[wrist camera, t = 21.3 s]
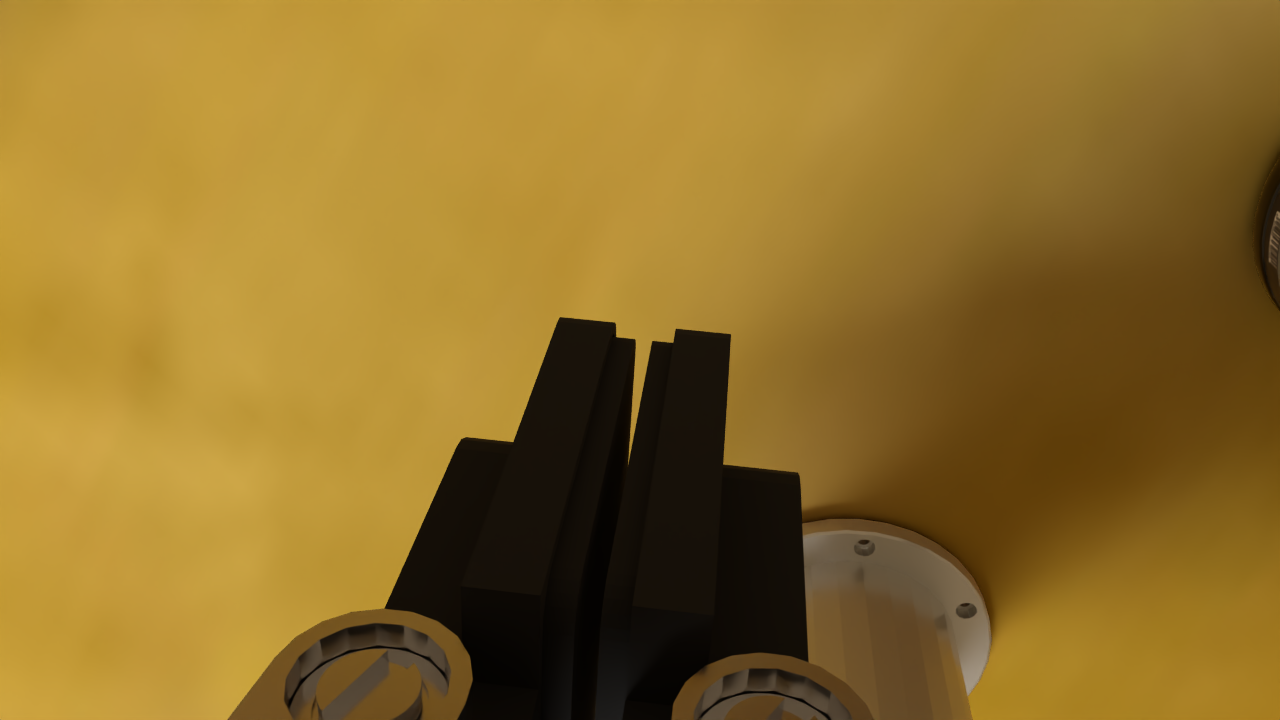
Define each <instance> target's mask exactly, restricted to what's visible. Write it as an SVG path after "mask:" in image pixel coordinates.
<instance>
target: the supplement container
mask: <svg viewBox="0 0 1280 720" xmlns="http://www.w3.org/2000/svg"><path fill="white" fill-rule="evenodd" d="M1253 251H1254V259H1255V264H1256V268H1257V272H1258V275H1259V277H1260V280H1261V282H1262V285H1263V287H1264V289H1265V291H1266V293H1267V294H1268V296H1269V298H1270V299H1271V301H1272V302H1273V304H1274V305H1275V306H1276V307H1277V309H1278V310H1279V311H1280V157H1279V159H1278V160H1277V162H1276V164H1275V165H1274V167H1273V169H1272V170H1271V172H1270V174H1269V176H1268V178H1267V181H1266V183H1265V185H1264V187H1263V190H1262V193H1261V195H1260V198H1259V201H1258V205H1257V209H1256V213H1255V218H1254V226H1253Z"/></svg>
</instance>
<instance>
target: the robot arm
mask: <svg viewBox="0 0 1280 720" xmlns="http://www.w3.org/2000/svg"><path fill="white" fill-rule="evenodd" d="M730 342H731V334H723V333H713V332H703V331H693V330H683V329H676V331H675V337H674V343H667V342H657V341H652V346H651V351H650V356H649V361H648V366H647V371H646V377H645V382H644V387H643V392H642V397H641V402H640V408H639V413H638V418H637V423H636V428H635V433H634V439H633V444H632V449H631V454H630V459H629V464H628V457H629V442H630V427H631V412H632V396H633V381H634V366H635V349H636V341H635V339H628V338H618V337H616V324H615V323H613V322H603V321H593V320H583V319H573V318H563V317H560V318H559V320H558V322H557V325H556V327H555V330H554V333H553V336H552V338H551V341H550V344H549V346H548V349H547V352H546V355H545V357H544V360H543V363H542V366H541V368H540V371H539V374H538V376H537V379H536V382H535V385H534V387H533V390H532V393H531V396H530V398H529V401H528V404H527V406H526V409H525V412H524V415H523V417H522V420H521V423H520V426H519V428H518V431H517V434H516V436H515V439H514V442H506V441H497V440H487V439H478V438H469V437H465V438H463V439H461V441H460V442H459V444H458V446H457V447H456V449H455V452H454V454H453V456H452V458H451V461H450V463H449V465H448V467H447V470H446V472H445V474H444V476H443V479H442V481H441V483H440V485H439V488H438V490H437V492H436V494H435V497H434V499H433V501H432V503H431V505H430V508H429V510H428V512H427V514H426V517H425V519H424V521H423V523H422V526H421V528H420V530H419V532H418V535H417V537H416V539H415V541H414V544H413V546H412V548H411V550H410V553H409V555H408V557H407V559H406V562H405V564H404V566H403V568H402V571H401V573H400V575H399V577H398V580H397V582H396V584H395V586H394V588H393V591H392V593H391V595H390V597H389V600H388V602H387V604H386V606H385V609H375V610H366V611H356V612H350V613H347V614H344V615H341V616H338V617H335V618H332V619H329V620H325V621H322V622H321V623H319V624H317V625H315V626H314V627H312V628H310V629H309V630H307V631H305V632H303V633H302V634H300V635H298V636H296V637H295V638H294V639H293V640H292V641H291V642H290V643H289V644H288V645H287V646H286V647H285V648H284V649H283V650H282V651H281V652H280V653H279V654H278V655H277V656H276V657H275V658H274V659H273V661H272V662H271V663H270V665H269V666H268V667H267V668H266V670H265V671H264V672H263V674H262V675H261V676H260V678H259V679H258V680H257V682H256V683H255V684H254V685H253V687H252V688H251V689H250V691H249V692H248V693H247V695H246V696H245V697H244V699H243V700H242V701H241V702H240V704H239V705H238V706H237V708H236V709H235V710H234V712H233V713H232V714H231V716H230V717H229V718H228V719H227V720H972V715H971V710H970V705H969V701H968V696H969V694H970V693H971V692H972V690H973V689H974V688H975V686H976V685H977V684H978V682H979V681H980V679H981V677H982V674H983V672H984V670H985V667H986V665H987V663H988V660H989V654H990V648H991V641H992V638H991V629H990V619H989V616H988V612H987V608H986V605H985V601H984V598H983V595H982V593H981V591H980V589H979V588H978V586H977V584H976V582H975V580H974V578H973V576H972V575H971V574H970V573H969V572H968V571H967V569H966V568H965V567H964V566H963V565H962V564H961V562H960V561H959V560H958V559H957V558H956V557H954V556H953V555H952V554H950V553H949V552H948V551H947V550H945V549H944V548H943V547H941V546H940V545H939V544H937V543H935V542H934V541H932V540H930V539H928V538H926V537H924V536H922V535H920V534H918V533H916V532H914V531H911V530H908V529H904V528H901V527H898V526H895V525H892V524H889V523H883V522H877V521H870V520H863V519H827V520H821V521H814V522H808V523H802V507H801V486H800V476H799V474H798V473H796V472H787V471H778V470H768V469H759V468H750V467H740V466H731V465H723V457H724V441H725V424H726V408H727V392H728V375H729V359H730Z"/></svg>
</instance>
